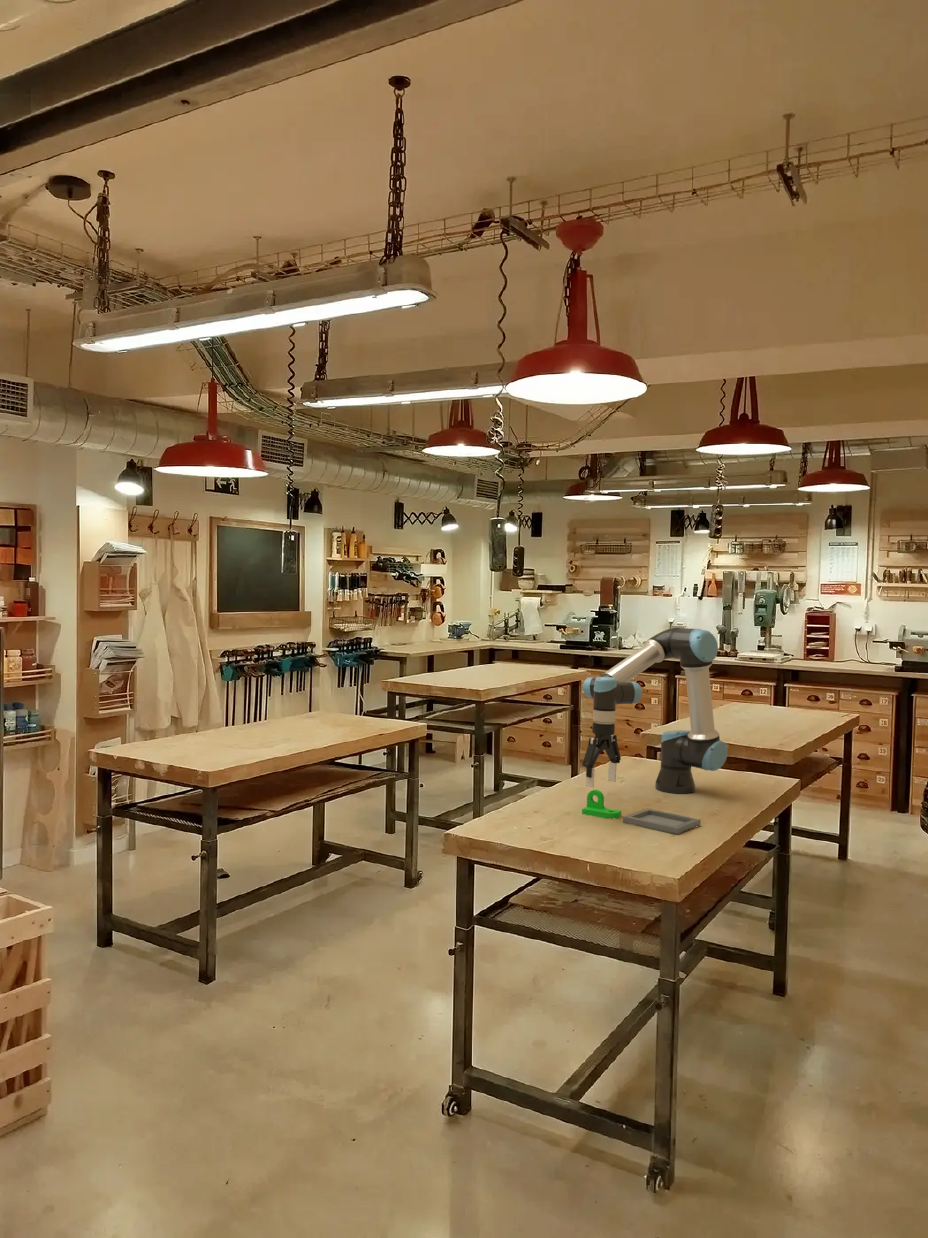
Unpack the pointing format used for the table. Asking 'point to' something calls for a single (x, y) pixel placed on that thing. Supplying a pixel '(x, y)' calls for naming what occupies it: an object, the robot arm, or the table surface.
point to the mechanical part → (599, 807)
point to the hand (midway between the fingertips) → (601, 784)
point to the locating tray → (661, 821)
